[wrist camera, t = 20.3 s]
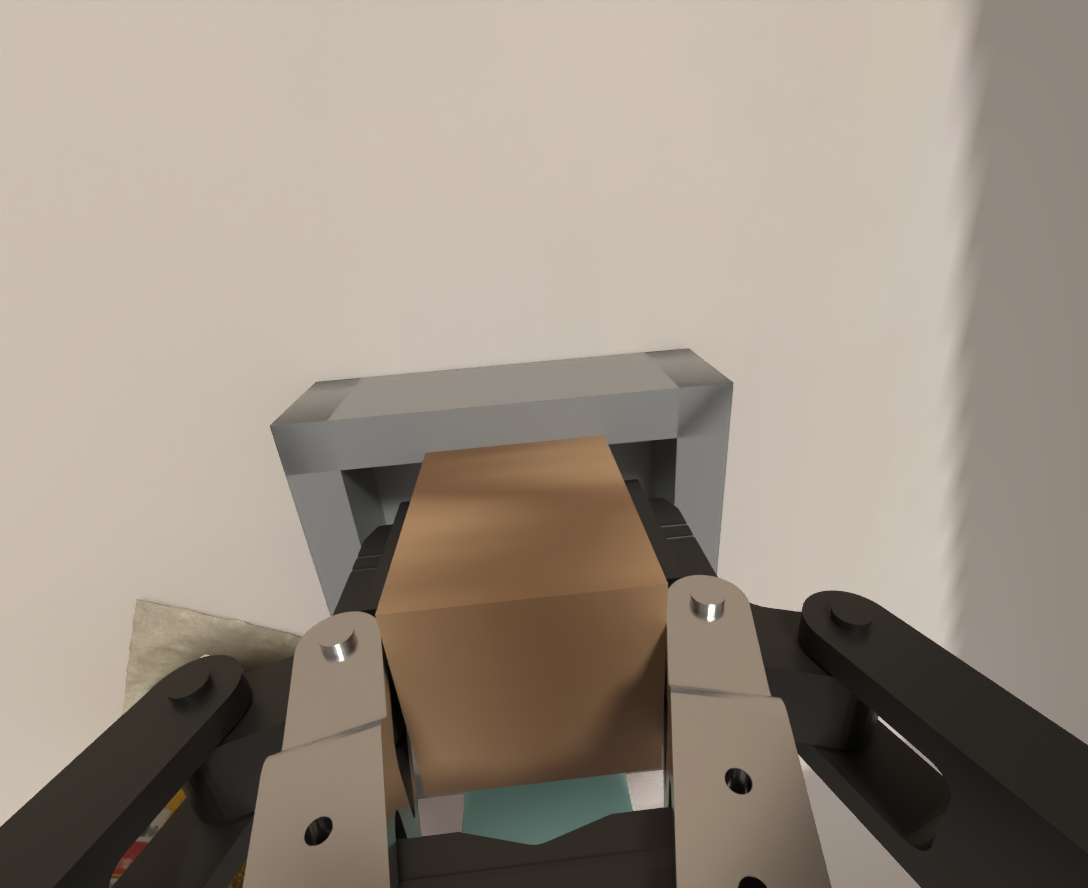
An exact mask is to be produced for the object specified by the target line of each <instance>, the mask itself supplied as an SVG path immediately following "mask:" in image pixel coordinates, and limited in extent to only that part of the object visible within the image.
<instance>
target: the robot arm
mask: <svg viewBox="0 0 1088 888" xmlns="http://www.w3.org/2000/svg"><path fill="white" fill-rule="evenodd" d="M624 482H625V485H626V487H627V489H628V492H629V494H630V496H631V499H632V501H633V503H634V506H635V508H636V510H637V513H638V515H639V517H640V520H641V522H642V524H643V527H644V529H645V531H646V534H647V536H648V538H649V541H650V543H651V545H652V547H653V550H654V552H655V554H656V557H657V559H658V561H659V564H660V566H661V568H662V571H663V573H664V575H665V578H666V580H667V582H668V602H667V629H666V657H665V684H664V712H663V773H664V808H656V809H648V810H640V811H631V812H623V813H615V814H610V815H608V816H605V817H603V818H601V819H598V820H596V821H594V822H591V823H589V824H587V825H585V826H582V827H580V828H578V829H575V830H573V831H571V832H568V833H566V834H564V835H561V836H559V837H557V838H554V839H552V840H550V841H547V842H545V843H542V844H537V845H530V844H524V843H518V842H512V841H507V840H501V839H495V838H490V837H484V836H479V835H473V834H467V833H462V832H456V833H448V834H440V835H431V836H423V837H422V836H421V829H420V820H419V812H418V803H417V794H416V785H415V777H414V768H413V759H412V750H411V742H410V738H409V734H408V731H407V727H406V724H405V720H404V717H403V713H402V709H401V706H400V702H399V699H398V695H397V692H396V688H395V684H394V681H393V677H392V674H391V670H390V667H389V663H388V659H387V656H386V652H385V649H384V645H383V642H382V638H381V634H380V631H379V627H378V624H377V620H376V617H375V614H376V611H377V607H378V604H379V601H380V598H381V595H382V591H383V588H384V585H385V582H386V578H387V575H388V572H389V569H390V566H391V562H392V559H393V556H394V553H395V550H396V546H397V543H398V540H399V537H400V533H401V530H402V527H403V524H404V521H405V517H406V514H407V511H408V508H409V504H410V501H406V502H401V503H400V505H399V508H398V511H397V513H396V516H395V519H394V522H393V524H391V525H381V526H378V527H377V528H376V529H375V530H374V531H373V532H372V533H371V534H370V535H369V536H368V537H367V538H366V539H365V540H364V541H363V544H362V546H361V549H360V551H359V553H358V559H356V561H355V563H354V565H353V568H352V572H351V573H350V575H349V577H348V580H347V582H346V585H345V587H344V589H343V592H342V594H341V597H340V599H339V601H338V604H337V606H336V608H335V611H334V613H333V616H331V617H329V618H326V619H324V620H323V621H321V622H319V623H318V624H316V625H315V626H313V627H312V628H311V629H310V630H308V631H307V632H306V633H305V635H304V636H303V637H302V638H301V640H300V641H299V642H298V645H297V647H296V649H295V653H294V655H293V656H291V657H288V658H286V659H283V660H281V661H278V662H275V663H272V664H269V665H266V666H263V667H261V668H258V669H255V670H252V671H249V672H246V673H244V672H243V669H242V667H241V665H240V663H239V662H238V661H237V659H235V658H233V657H231V656H227V655H212V656H207V657H203V658H200V659H197V660H194V661H191V662H189V663H187V664H185V665H183V666H181V667H179V668H177V669H176V670H174V671H173V672H171V673H170V674H168V675H167V676H165V677H164V678H163V679H162V680H161V681H159V682H158V683H157V684H156V685H155V686H154V687H153V688H152V689H151V690H149V691H148V692H147V693H146V694H145V695H144V696H143V697H142V698H141V699H140V700H139V701H137V702H136V703H135V704H134V705H133V706H132V707H131V708H130V709H129V710H128V711H126V712H125V713H124V714H123V715H122V716H121V717H120V718H119V719H118V720H117V721H116V722H114V723H113V724H112V725H111V726H110V727H109V728H108V729H107V730H106V731H105V732H104V733H102V734H101V735H100V736H99V737H98V738H97V739H96V740H95V741H94V742H93V743H92V744H90V745H89V746H88V747H87V748H86V749H85V750H84V751H83V752H82V753H81V754H80V755H78V756H77V757H76V758H75V759H74V760H73V761H72V762H71V763H70V764H69V765H68V766H66V767H65V768H64V769H63V770H62V771H61V772H60V773H59V774H58V775H57V776H56V777H54V778H53V779H52V780H51V781H50V782H49V783H48V784H47V785H46V786H45V787H44V788H42V789H41V790H40V791H39V792H38V793H37V794H36V795H35V796H34V797H33V798H32V799H30V800H29V801H28V802H27V803H26V804H25V805H24V806H23V807H22V808H21V809H20V810H18V811H17V812H16V813H15V814H14V815H13V816H12V817H11V818H10V819H9V820H8V821H6V822H5V823H4V824H3V825H2V826H1V827H0V888H109V884H110V880H111V877H112V875H113V872H114V870H115V868H116V866H117V865H118V863H119V861H120V860H121V858H122V857H123V856H124V854H125V853H126V852H127V851H128V849H129V848H130V847H131V846H132V845H133V844H134V842H135V841H136V840H137V839H138V838H139V837H140V835H141V834H142V833H143V832H144V831H145V830H146V828H147V827H148V826H149V825H150V824H151V823H152V821H153V820H154V819H155V818H156V817H157V816H158V814H159V813H160V812H161V811H162V810H163V809H164V808H165V806H166V805H167V804H168V803H169V802H170V801H171V799H172V798H173V797H174V796H175V795H176V794H177V792H178V791H179V790H180V789H182V790H183V792H184V794H185V796H186V799H185V800H184V801H183V802H182V803H181V805H180V806H179V807H178V808H177V809H176V811H175V812H174V813H173V814H172V815H171V817H170V818H169V819H168V820H167V821H166V823H165V824H164V825H163V826H162V827H161V828H160V830H159V831H158V832H157V833H156V834H155V836H154V837H153V838H152V839H151V840H150V842H149V843H148V844H147V845H146V846H145V848H144V849H143V850H142V851H141V852H140V854H139V855H138V856H137V857H136V858H135V860H134V861H133V862H132V863H131V864H130V865H129V867H128V868H127V869H126V870H125V871H124V873H123V874H122V875H121V876H120V877H119V879H118V880H117V881H116V882H115V883H114V885H113V886H112V887H111V888H227V887H228V886H229V884H230V883H231V881H232V880H233V878H234V877H235V876H236V874H237V873H238V871H239V870H240V868H241V867H242V865H243V864H244V862H245V861H246V859H247V863H246V870H245V876H244V882H243V888H832V887H831V883H830V879H829V875H828V871H827V867H826V863H825V859H824V855H823V852H822V847H821V844H820V840H819V836H818V832H817V828H816V824H815V820H814V816H813V812H812V809H811V804H810V800H809V796H808V792H807V788H806V785H805V780H804V777H803V773H802V769H801V765H800V761H799V757H798V754H799V755H800V756H801V758H802V759H803V760H804V761H805V762H806V763H807V764H808V765H809V766H810V767H811V768H812V770H813V771H814V772H815V773H816V774H817V775H818V776H819V777H820V778H821V779H822V780H823V781H824V782H825V784H826V785H827V786H828V787H829V788H830V789H831V790H832V791H833V792H834V793H835V795H836V796H837V797H838V798H839V799H840V800H841V801H842V802H843V803H844V804H845V805H846V806H847V807H848V808H849V810H850V811H851V812H852V813H853V814H854V815H855V816H856V817H857V818H858V819H859V821H860V822H861V823H862V824H863V825H864V826H865V827H866V828H867V829H868V830H869V831H870V833H871V834H872V835H873V836H874V837H875V838H876V839H877V840H878V841H879V842H880V843H881V844H882V846H883V847H884V848H885V849H886V850H887V851H888V852H889V853H890V854H891V855H892V856H893V857H894V858H895V860H896V861H897V862H898V863H899V864H900V865H901V866H902V867H903V868H904V869H905V871H906V872H907V873H908V874H909V875H910V876H911V877H912V878H913V879H914V880H915V881H916V882H917V884H918V885H919V886H920V887H921V888H1088V745H1087V744H1085V743H1084V742H1082V741H1081V740H1079V739H1078V738H1076V737H1075V736H1073V735H1072V734H1070V733H1069V732H1068V731H1066V730H1065V729H1063V728H1062V727H1060V726H1059V725H1057V724H1056V723H1054V722H1053V721H1051V720H1049V719H1048V718H1047V717H1045V716H1044V715H1042V714H1041V713H1039V712H1038V711H1036V710H1035V709H1033V708H1032V707H1030V706H1029V705H1027V704H1026V703H1024V702H1023V701H1021V700H1020V699H1018V698H1017V697H1015V696H1014V695H1012V694H1011V693H1009V692H1008V691H1006V690H1005V689H1004V688H1002V687H1000V686H999V685H998V684H996V683H995V682H993V681H992V680H990V679H989V678H987V677H986V676H984V675H983V674H981V673H980V672H978V671H977V670H975V669H974V668H972V667H970V666H969V665H968V664H966V663H965V662H963V661H962V660H960V659H959V658H957V657H956V656H954V655H953V654H951V653H950V652H948V651H947V650H945V649H944V648H942V647H941V646H939V645H938V644H937V643H935V642H934V641H932V640H931V639H929V638H928V637H926V636H925V635H923V634H922V633H920V632H919V631H917V630H916V629H914V628H913V627H911V626H910V625H908V624H907V623H905V622H904V621H902V620H901V619H899V618H898V617H896V616H895V615H893V614H892V613H890V612H889V611H887V610H886V609H884V608H883V607H881V606H880V605H878V604H877V603H875V602H873V601H871V600H869V599H867V598H865V597H862V596H859V595H856V594H853V593H849V592H843V591H822V592H818V593H815V594H813V595H811V596H809V597H808V598H807V599H806V600H805V602H804V604H803V607H802V612H796V611H788V610H781V609H773V608H767V607H761V606H758V605H754V604H751V603H749V601H748V599H747V597H746V595H745V594H744V593H743V592H742V591H741V590H740V589H739V588H738V587H737V586H735V585H734V584H732V583H730V582H728V581H726V580H724V579H721V578H718V577H717V575H716V573H715V571H714V570H713V568H712V566H711V564H710V563H709V561H708V559H707V557H706V556H705V554H704V552H703V550H702V549H701V547H700V545H699V543H698V542H697V540H696V538H695V537H693V533H692V531H691V529H690V528H689V526H688V525H687V522H686V521H685V519H684V517H683V515H682V514H681V512H680V510H679V509H678V508H677V507H676V506H674V505H673V504H671V503H670V502H668V501H667V500H666V499H664V498H653V499H647V496H646V494H645V492H644V490H643V488H642V486H641V484H640V482H639V480H638V479H631V480H624ZM878 716H880V717H881V718H882V719H883V720H884V721H885V722H886V723H888V724H889V725H890V726H891V727H892V728H893V729H895V730H896V731H897V732H898V733H899V734H900V735H901V736H903V737H904V738H905V739H906V740H907V741H908V742H910V743H911V744H912V745H913V746H914V747H915V748H917V749H918V750H919V751H920V752H921V753H922V754H923V755H925V756H926V757H927V758H928V759H929V760H930V761H931V762H932V763H933V764H934V765H935V766H936V767H937V768H938V770H939V771H940V772H941V773H942V775H943V776H942V775H941V774H940V773H939V772H937V771H936V770H935V769H934V768H933V767H932V766H930V765H929V764H928V763H927V762H926V761H925V760H923V759H922V758H921V757H920V756H919V755H918V754H917V753H915V752H914V751H913V750H912V749H911V748H910V747H909V746H908V745H906V744H905V743H904V742H903V741H902V740H901V739H900V738H898V737H897V736H896V735H895V734H894V733H893V732H892V731H890V730H889V729H888V728H887V727H886V726H885V725H884V724H882V723H881V722H880V721H879V720H878Z"/></svg>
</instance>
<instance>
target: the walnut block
mask: <svg viewBox="0 0 1088 888" xmlns="http://www.w3.org/2000/svg"><path fill="white" fill-rule="evenodd" d="M667 602H668V582H667V580H666V578H665V575H664V573H663V571H662V568H661V566H660V564H659V561H658V559H657V557H656V554H655V552H654V550H653V547H652V545H651V543H650V541H649V538H648V536H647V534H646V531H645V529H644V527H643V524H642V522H641V520H640V517H639V515H638V513H637V510H636V508H635V506H634V503H633V501H632V499H631V496H630V494H629V492H628V489H627V487H626V485H625V482H624V480H623V478H622V475H621V473H620V471H619V468H618V466H617V464H616V462H615V459H614V457H613V455H612V452H611V450H610V448H609V445H608V443H607V441H606V438H605V436H604V435H603V436H593V437H582V438H572V439H562V440H551V441H541V442H531V443H520V444H510V445H500V446H490V447H479V448H469V449H459V450H449V451H439V452H428V453H425V456H424V459H423V463H422V466H421V469H420V472H419V476H418V479H417V482H416V485H415V488H414V492H413V495H412V498H411V501H410V504H409V508H408V511H407V514H406V517H405V521H404V524H403V527H402V530H401V533H400V537H399V540H398V543H397V546H396V550H395V553H394V556H393V559H392V562H391V566H390V569H389V572H388V575H387V578H386V582H385V585H384V588H383V591H382V595H381V598H380V601H379V604H378V607H377V611H376V614H375V617H376V620H377V624H378V627H379V631H380V634H381V638H382V642H383V645H384V649H385V652H386V656H387V659H388V663H389V667H390V670H391V674H392V677H393V681H394V684H395V688H396V692H397V695H398V699H399V702H400V706H401V709H402V713H403V717H404V720H405V724H406V727H407V731H408V734H409V738H410V742H411V745H412V749H413V752H414V756H415V759H416V763H417V767H418V770H419V774H420V777H421V781H422V784H423V788H424V792H425V795H426V796H434V795H442V794H451V793H459V792H468V791H476V790H485V789H493V788H502V787H510V786H518V785H527V784H535V783H544V782H552V781H561V780H569V779H578V778H586V777H595V776H603V775H611V774H620V773H628V772H637V771H645V770H654V769H661V766H662V739H663V712H664V684H665V657H666V629H667Z"/></svg>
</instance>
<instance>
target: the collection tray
mask: <svg viewBox="0 0 1088 888" xmlns="http://www.w3.org/2000/svg"><path fill="white" fill-rule="evenodd" d="M732 393H733V382H732V381H730V380H729V379H728V378H726V377H725V376H724V375H723V374H721V373H720V372H719V371H717V370H716V369H715V368H713V367H712V366H711V365H710V364H708V363H707V362H706V361H704V360H703V359H702V358H700V357H699V356H698V355H697V354H695V353H694V352H693V351H691V350H690V349H678V350H667V351H655V352H644V353H633V354H622V355H611V356H600V357H589V358H578V359H567V360H556V361H545V362H534V363H523V364H511V365H500V366H489V367H478V368H467V369H456V370H445V371H434V372H423V373H412V374H401V375H390V376H378V377H367V378H356V379H345V380H334V381H323V382H316V383H315V384H313V385H312V386H311V387H310V388H309V389H308V390H307V391H306V392H305V393H304V394H303V395H302V396H301V397H300V398H299V399H298V400H297V401H295V402H294V403H293V404H292V405H291V406H290V407H289V408H288V409H287V410H286V411H285V412H284V413H283V414H282V415H281V416H280V417H279V418H278V419H276V420H275V421H274V422H273V423H272V424H271V425H270V428H271V431H272V434H273V438H274V441H275V444H276V447H277V450H278V453H279V456H280V459H281V463H282V466H283V469H284V472H285V475H286V478H287V481H288V484H289V487H290V491H291V494H292V497H293V500H294V503H295V506H296V509H297V512H298V516H299V519H300V522H301V525H302V528H303V531H304V534H305V537H306V540H307V544H308V547H309V550H310V553H311V556H312V559H313V562H314V565H315V569H316V572H317V575H318V578H319V581H320V584H321V587H322V590H323V593H324V597H325V600H326V603H327V606H328V609H329V612H330V615H331V616H333V613H334V611H335V608H336V606H337V604H338V601H339V599H340V597H341V594H342V592H343V589H344V587H345V585H346V582H347V580H348V577H349V575H350V573H351V572H352V568H353V565H354V563H355V561H356V559H358V553H359V551H360V549H361V546H362V544H363V541H364V540H365V539H366V538H367V537H368V536H369V535H370V534H371V533H372V532H373V531H374V530H375V529H376V528H377V527H378V526H381V525H391V524H393V522H394V519H395V516H396V513H397V511H398V508H399V505H400V503H401V502H406V501H411V498H412V495H413V492H414V488H415V485H416V482H417V479H418V476H419V472H420V469H421V466H422V463H423V459H424V456H425V453H428V452H439V451H449V450H459V449H469V448H479V447H490V446H500V445H510V444H520V443H531V442H541V441H551V440H562V439H572V438H582V437H593V436H603V435H604V436H605V438H606V441H607V443H608V445H609V448H610V450H611V452H612V455H613V457H614V459H615V462H616V464H617V466H618V468H619V471H620V473H621V475H622V478H623V480H631V479H638V480H639V482H640V484H641V486H642V488H643V490H644V492H645V494H646V496H647V499H653V498H664V499H666V500H667V501H668V502H670V503H671V504H673V505H674V506H676V507H677V508H678V509H679V510H680V512H681V514H682V515H683V517H684V519H685V521H686V522H687V525H688V526H689V528H690V529H691V531H692V533H693V537H695V538H696V540H697V542H698V543H699V545H700V547H701V549H702V550H703V552H704V554H705V556H706V557H707V559H708V561H709V563H710V564H711V566H712V568H713V570H714V571H715V573H716V575H717V567H718V555H719V543H720V532H721V520H722V509H723V497H724V485H725V474H726V462H727V451H728V439H729V427H730V416H731V404H732ZM411 750H412V759H413V768H414V777H415V785H416V794H417V799H420V798H429V797H437V796H446V795H454V794H462V793H465V792H459V793H451V794H442V795H434V796H426V795H425V792H424V788H423V784H422V781H421V777H420V774H419V770H418V767H417V763H416V759H415V756H414V752H413V749H412V745H411ZM655 770H663V739H662V766H661V769H654V770H645V771H637V772H628V773H625V774H630V773H638V772H647V771H655Z"/></svg>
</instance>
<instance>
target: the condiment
mask: <svg viewBox="0 0 1088 888" xmlns="http://www.w3.org/2000/svg"><path fill="white" fill-rule="evenodd" d="M300 640H301V637H298V636H296V635H294V634H290V633H286V632H281V631H277V630H273V629H268V628H263V627H259V626H254V625H251V624H247V623H246V622H245V621H242V620H240V619H238V620H231V619H222V618H218V617H213V616H208V615H204V614H201V613H198V612H195V611H192V610H188V609H184V608H173V607H168V606H164V605H159V604H155V603H151V602H147V601H143V600H139V599H137V602H136V609H135V614H134V619H133V633H132V638H131V642H130V647H129V650H130V656H129V662H128V666H127V677H126V691H125V702H124V708H123V714H124V713H125V712H126V711H128V710H129V709H130V708H131V707H132V706H133V705H134V704H135V703H136V702H137V701H139V700H140V699H141V698H142V697H143V696H144V695H145V694H146V693H147V692H148V691H149V690H151V689H152V688H153V687H154V686H155V685H156V684H157V683H158V682H159V681H161V680H162V679H163V678H164V677H165V676H167V675H168V674H170V673H171V672H173V671H174V670H176V669H177V668H179V667H181V666H183V665H185V664H187V663H189V662H191V661H194V660H197V659H200V657H201V656H203V655H205V654H207V655H210V656H212V655H227V656H231V657H233V658H235V659H237V661H238V662H239V663H240V665H241V667H242V669H243V672H244V673H246V672H249V671H252V670H255V669H258V668H261V667H263V666H266V665H269V664H272V663H275V662H278V661H281V660H283V659H286V658H288V657H291V656H293V655H294V653H295V649H296V647H297V645H298V642H299V641H300ZM123 714H122V715H123ZM185 799H186V796H185V794H184V792H183V790H182V789H180V790H179V791H178V792H177V794H176V795H175V796H174V797H173V798H172V799H171V801H170V802H169V803H168V804H167V805H166V806H165V808H164V809H163V810H162V811H161V812H160V813H159V814H158V816H157V817H156V818H155V819H154V820H153V821H152V823H151V824H150V825H149V826H148V827H147V828H146V830H145V831H144V832H143V833H142V834H141V835H140V837H139V838H138V839H137V840H136V841H135V842H134V844H133V845H132V846H131V847H130V848H129V849H128V851H127V852H126V853H125V854H124V856H123V857H122V858H121V860H120V861H119V863H118V865H117V866H116V868H115V870H114V872H113V875H112V877H111V880H110V884H109V888H111V887H112V886H113V885H114V883H115V882H116V881H117V880H118V879H119V877H120V876H121V875H122V874H123V873H124V871H125V870H126V869H127V868H128V867H129V865H130V864H131V863H132V862H133V861H134V860H135V858H136V857H137V856H138V855H139V854H140V852H141V851H142V850H143V849H144V848H145V846H146V845H147V844H148V843H149V842H150V840H151V839H152V838H153V837H154V836H155V834H156V833H157V832H158V831H159V830H160V828H161V827H162V826H163V825H164V824H165V823H166V821H167V820H168V819H169V818H170V817H171V815H172V814H173V813H174V812H175V811H176V809H177V808H178V807H179V806H180V805H181V803H182V802H183V801H184V800H185ZM246 863H247V859H246V861H245V862H244V864H243V865H242V867H241V868H240V870H239V871H238V873H237V874H236V876H235V877H234V878H233V880H232V881H231V883H230V884H229V886H228V887H227V888H243V882H244V876H245V870H246Z"/></svg>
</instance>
